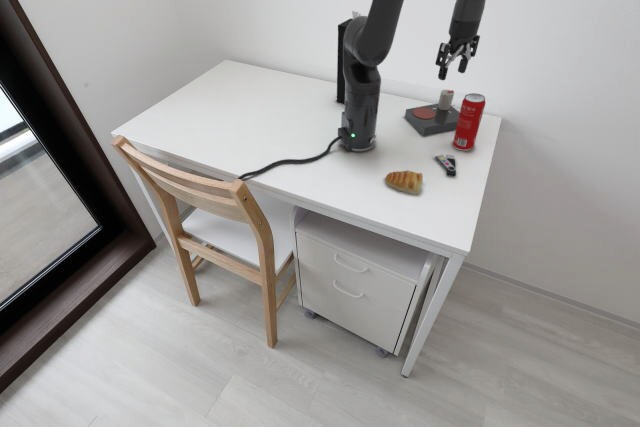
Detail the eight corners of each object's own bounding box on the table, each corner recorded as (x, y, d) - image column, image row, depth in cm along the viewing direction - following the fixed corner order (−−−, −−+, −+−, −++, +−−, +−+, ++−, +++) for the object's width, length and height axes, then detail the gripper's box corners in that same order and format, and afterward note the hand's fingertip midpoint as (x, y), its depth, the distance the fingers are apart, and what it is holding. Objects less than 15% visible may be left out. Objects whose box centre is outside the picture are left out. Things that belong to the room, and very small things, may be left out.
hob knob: (441, 111, 108) (445, 95, 104) (435, 105, 110) (438, 89, 106) (452, 109, 108) (457, 93, 105) (445, 103, 111) (449, 87, 107)
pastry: (382, 190, 86) (384, 178, 83) (386, 174, 90) (388, 162, 88) (420, 196, 84) (423, 184, 81) (422, 179, 88) (425, 168, 86)
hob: (423, 136, 103) (425, 127, 101) (402, 116, 112) (404, 107, 110) (468, 127, 106) (471, 118, 104) (445, 108, 115) (447, 99, 113)
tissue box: (355, 107, 116) (361, 16, 96) (336, 102, 119) (337, 12, 99) (366, 98, 121) (373, 9, 101) (347, 93, 124) (350, 6, 104)
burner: (419, 120, 104) (420, 120, 104) (409, 110, 108) (409, 109, 108) (439, 117, 105) (439, 116, 105) (428, 107, 110) (428, 106, 110)
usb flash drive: (455, 176, 89) (456, 173, 88) (434, 174, 90) (435, 171, 89) (454, 157, 95) (455, 154, 94) (434, 155, 96) (435, 152, 95)
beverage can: (474, 152, 97) (492, 103, 86) (450, 150, 98) (465, 101, 87) (471, 141, 101) (488, 93, 90) (449, 139, 102) (463, 91, 91)
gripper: (473, 8, 96) (457, 66, 107) (437, 17, 90) (425, 77, 102) (495, 14, 91) (477, 74, 103) (459, 24, 86) (444, 86, 97)
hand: (451, 75), depth 102 cm, fingers open, 8 cm apart
